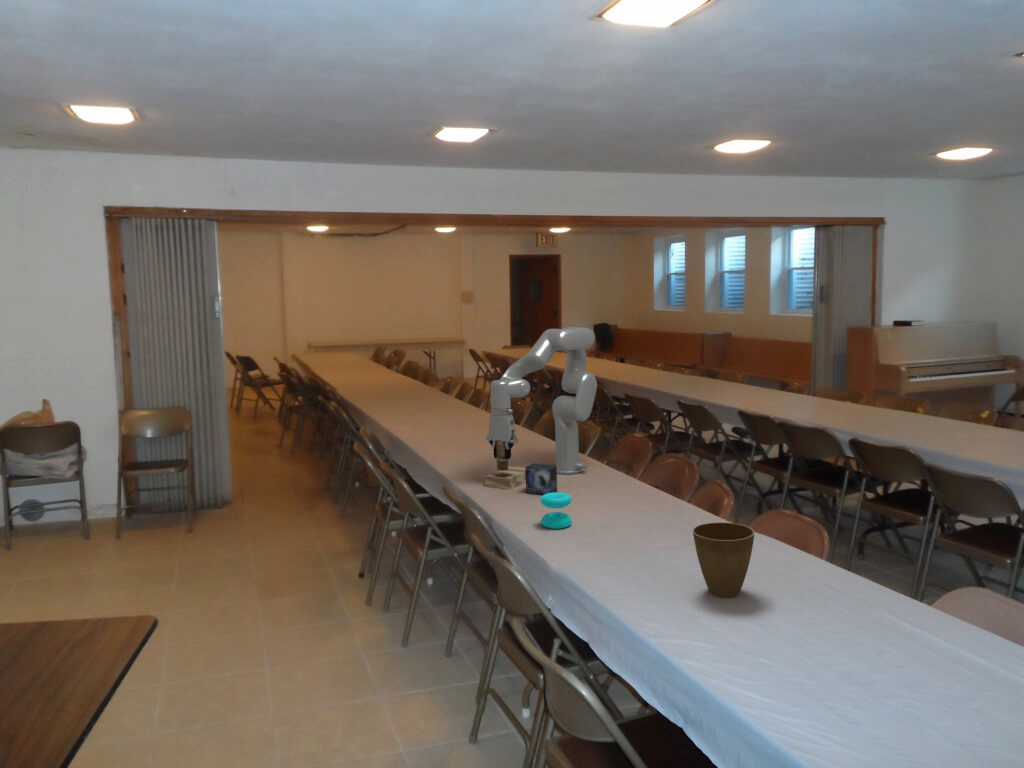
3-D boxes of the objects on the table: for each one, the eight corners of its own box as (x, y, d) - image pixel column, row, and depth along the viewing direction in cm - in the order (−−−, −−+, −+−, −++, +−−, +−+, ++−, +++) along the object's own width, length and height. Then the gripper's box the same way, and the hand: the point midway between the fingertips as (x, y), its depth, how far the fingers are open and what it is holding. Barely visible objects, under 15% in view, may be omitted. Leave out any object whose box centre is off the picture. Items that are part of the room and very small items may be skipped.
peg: (510, 468, 315) (509, 438, 313) (504, 470, 311) (503, 440, 310) (500, 467, 317) (500, 437, 316) (494, 469, 313) (493, 439, 312)
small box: (525, 493, 302) (524, 466, 301) (532, 489, 308) (531, 462, 306) (550, 496, 297) (549, 468, 296) (557, 492, 303) (557, 465, 301)
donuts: (565, 490, 267) (575, 497, 257) (565, 519, 268) (576, 528, 259) (536, 493, 264) (545, 500, 255) (537, 522, 265) (546, 531, 256)
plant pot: (742, 579, 210) (743, 520, 208) (762, 602, 196) (763, 538, 193) (686, 582, 210) (686, 522, 208) (701, 604, 195) (701, 541, 193)
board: (511, 475, 331) (511, 465, 331) (535, 477, 325) (534, 468, 325) (485, 486, 314) (485, 476, 314) (509, 489, 308) (509, 479, 308)
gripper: (524, 411, 310) (526, 458, 313) (488, 409, 319) (489, 454, 321) (514, 414, 304) (516, 462, 306) (477, 412, 313) (479, 458, 315)
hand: (502, 457), depth 314 cm, fingers closed on peg, 4 cm apart
